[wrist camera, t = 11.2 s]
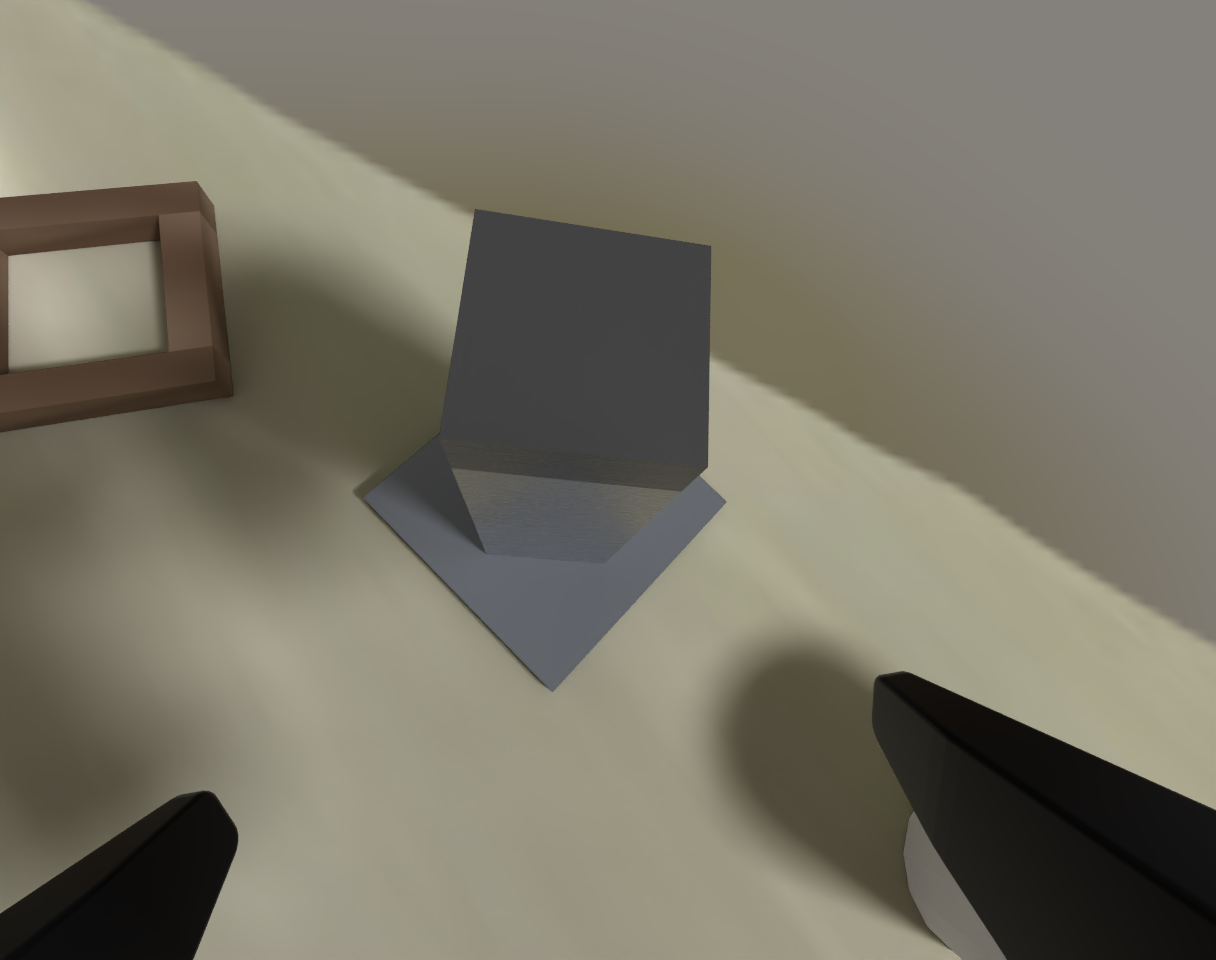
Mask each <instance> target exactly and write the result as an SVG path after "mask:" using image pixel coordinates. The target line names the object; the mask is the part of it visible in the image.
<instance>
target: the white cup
mask: <svg viewBox="0 0 1216 960" xmlns="http://www.w3.org/2000/svg"><path fill="white" fill-rule="evenodd" d="M903 855H904V862H905V868H906V874H907V880H908V886H909V892H910V894H911V896H912V898H913V900H914V902H915V904H916V906H917V908H918V910H919V912H920V914H921V916H922V918H923V920H924V922H925V924H926V925H927V927H928V928H929V929H930V930H931V931H932V932H933V933H934V934H936V935H937V936H938V937H939V938H940V939H941V940H942V941H943V942H944V943H945V944H946V945H947V946H948V947H949V948H950V949H951V950H952V951H953V952H954V953H956V954H957V955H958V956H959V957H960V958H961V959H962V960H1007V959H1006V958H1005V956H1004V955H1003V953H1002V952H1001V950H1000V949H999V947H998V945H997V944H996V942H995V941H994V939H993V938H992V936H991V935H990V933H989V932H988V930H987V929H986V927H985V926H984V924H983V923H982V921H981V920H980V918H979V916H978V915H977V913H976V912H975V910H974V909H973V907H972V906H971V904H970V903H969V901H968V900H967V898H966V897H965V895H964V894H963V892H962V890H961V889H960V887H959V886H958V884H957V883H956V881H955V880H954V878H953V877H952V875H951V874H950V872H949V871H948V869H947V868H946V866H945V864H944V863H943V861H942V860H941V858H940V856H939V855H938V853H937V852H936V850H935V848H934V847H933V845H932V843H931V842H930V840H929V838H928V836H927V834H926V833H925V831H924V829H923V827H922V825H921V823H920V821H919V819H918V817H917V816H916V814H915V812H914V811H913V813H912V814H911V816H910V818H909V822H908V828H907V834H906V840H905V846H904V852H903Z"/></svg>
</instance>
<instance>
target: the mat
mask: <svg viewBox="0 0 1216 960" xmlns="http://www.w3.org/2000/svg"><path fill="white" fill-rule="evenodd" d="M439 435H440V433H439V434H438V435H437V436H436V437H434V438H433V439H432V440H431V441H430V442H428V443H427V444H426V445H425V446H424V447H422V448H421V449H420V450H419V451H418V452H416V453H415V454H414V455H413V456H412V457H410V458H409V459H408V460H407V461H406V462H404V463H403V464H402V465H401V466H400V467H398V468H397V469H396V470H395V471H394V472H392V473H391V474H390V475H389V476H388V477H387V478H385V479H384V480H383V481H382V482H381V483H379V484H378V485H377V486H376V487H375V488H373V489H372V490H371V491H370V492H369V493H367V494H366V495H365V496H364V497H363V498H364V499H365V500H366V502H367V503H368V504H369V505H370V506H371V507H372V508H373V509H374V510H375V511H376V512H377V513H378V514H379V515H380V516H381V517H382V518H383V519H384V520H385V521H386V522H387V523H388V524H389V525H390V526H391V527H392V528H393V529H394V530H395V531H396V532H397V533H398V534H399V535H400V536H401V537H402V538H403V539H404V541H405V542H406V543H407V544H408V545H409V546H410V547H411V548H412V549H413V550H414V551H415V552H416V553H417V554H418V555H419V556H420V557H421V558H422V559H423V560H424V561H425V562H426V563H427V564H428V565H429V566H430V567H431V568H432V569H433V570H434V571H435V572H436V573H437V574H438V575H439V576H440V577H441V578H442V580H443V581H444V582H445V583H446V584H447V585H448V586H449V587H450V588H451V589H452V590H453V591H454V592H455V593H456V594H457V595H458V596H459V597H460V598H461V599H462V600H463V601H464V602H465V603H466V604H467V605H468V606H469V607H470V608H471V609H472V610H473V611H474V612H475V613H476V614H477V615H478V616H479V617H480V618H481V620H482V621H483V622H484V623H485V624H486V625H487V626H488V627H489V628H490V629H491V630H492V631H493V632H494V633H495V634H496V635H497V636H498V637H499V638H500V639H501V640H502V641H503V642H504V643H505V644H506V645H507V646H508V647H509V648H510V649H511V650H512V651H513V652H514V653H515V654H516V655H517V656H518V657H519V659H520V660H521V661H522V662H523V663H524V664H525V665H526V666H527V667H528V668H529V669H530V670H531V671H532V672H533V673H534V674H535V675H536V676H537V677H538V678H539V679H540V680H541V681H542V682H543V683H544V684H545V685H546V686H547V687H548V688H549V689H550V690H551V691H552V692H553V691H554V690H555V689H556V688H557V687H558V686H559V685H560V684H561V682H562V681H563V680H564V679H565V678H566V677H567V676H568V675H569V674H570V673H571V672H572V670H573V669H574V668H575V667H576V666H577V665H578V664H579V663H580V662H581V661H582V660H583V658H584V657H585V656H586V655H587V654H588V653H589V652H590V651H591V650H592V649H593V648H594V646H595V645H596V644H597V643H598V642H599V641H600V640H601V639H602V638H603V637H604V635H605V634H606V633H607V632H608V631H609V630H610V629H611V628H612V627H613V626H614V625H615V623H616V622H617V621H618V620H619V619H620V618H621V617H622V616H623V615H624V614H625V613H626V611H627V610H628V609H629V608H630V607H631V606H632V605H633V604H634V603H635V602H636V600H637V599H638V598H639V597H640V596H641V595H642V594H643V593H644V592H645V591H646V590H647V588H648V587H649V586H650V585H651V584H652V583H653V582H654V581H655V580H656V579H657V578H658V576H659V575H660V574H661V573H662V572H663V571H664V570H665V569H666V568H667V567H668V565H669V564H670V563H671V562H672V561H673V560H674V559H675V558H676V557H677V556H678V555H679V553H680V552H681V551H682V550H683V549H684V548H685V547H686V546H687V545H688V544H689V543H690V541H691V540H692V539H693V538H694V537H695V536H696V535H697V534H698V533H699V532H700V530H701V529H702V528H703V527H704V526H705V525H706V524H707V523H708V522H709V521H710V520H711V518H712V517H713V516H714V515H715V514H716V513H717V512H718V511H719V510H720V509H721V508H722V506H723V505H724V504H725V503H726V501H725V500H724V499H723V498H722V497H721V496H720V495H719V494H718V493H717V492H716V491H715V490H714V489H713V488H712V487H711V486H709V485H708V484H707V483H706V482H705V481H704V480H703V479H702V478H701V477H700V476H698V477H697V478H696V479H695V480H694V481H692V482H691V483H690V484H689V485H688V486H687V487H686V488H685V489H684V490H683V491H682V492H681V493H680V494H679V495H677V496H676V497H675V498H674V499H673V500H672V501H671V502H670V503H669V504H668V505H667V506H666V507H665V508H664V509H663V510H661V511H660V512H659V513H658V514H657V515H656V516H655V517H654V518H653V519H652V520H651V521H650V522H649V523H648V524H646V525H645V526H644V527H643V528H642V529H641V530H640V531H639V532H638V533H637V534H636V535H635V536H634V537H633V538H631V539H630V540H629V541H628V542H627V543H626V544H625V545H624V546H623V547H622V548H621V549H620V550H619V551H618V552H617V553H615V554H614V555H613V556H612V557H611V558H610V559H609V560H608V561H607V562H606V563H605V564H595V563H583V562H572V561H560V560H548V559H536V558H524V557H512V556H500V555H489V554H486V552H485V549H484V547H483V544H482V542H481V540H480V537H479V535H478V532H477V530H476V527H475V525H474V522H473V520H472V518H471V515H470V513H469V510H468V508H467V505H466V503H465V500H464V498H463V496H462V493H461V491H460V488H459V486H458V483H457V481H456V479H455V476H454V474H453V471H452V469H451V466H450V464H449V461H448V459H447V457H446V454H445V452H444V449H443V447H442V444H441V442H440V439H439Z"/></svg>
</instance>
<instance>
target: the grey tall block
mask: <svg viewBox="0 0 1216 960" xmlns="http://www.w3.org/2000/svg"><path fill="white" fill-rule="evenodd" d="M710 285H711V246H708V245H701V244H695V243H689V242H682V241H676V240H669V239H663V238H657V237H650V236H644V235H637V234H631V233H625V232H618V231H612V230H605V229H599V228H593V227H586V226H580V225H573V224H567V223H560V222H555V221H548V220H542V219H535V218H529V217H523V216H516V215H510V214H503V213H497V212H491V211H484V210H477V209H475V213H474V219H473V225H472V232H471V238H470V244H469V251H468V257H467V263H466V270H465V276H464V282H463V289H462V295H461V302H460V308H459V314H458V321H457V327H456V333H455V340H454V346H453V352H452V359H451V365H450V371H449V378H448V384H447V390H446V397H445V403H444V409H443V416H442V422H441V429H440V435H439V439H440V442H441V444H442V447H443V449H444V452H445V454H446V457H447V459H448V461H449V464H450V466H451V469H452V471H453V474H454V476H455V479H456V481H457V483H458V486H459V488H460V491H461V493H462V496H463V498H464V500H465V503H466V505H467V508H468V510H469V513H470V515H471V518H472V520H473V522H474V525H475V527H476V530H477V532H478V535H479V537H480V540H481V542H482V544H483V547H484V549H485V552H486V554H489V555H500V556H512V557H524V558H536V559H548V560H560V561H572V562H583V563H595V564H605V563H606V562H607V561H608V560H609V559H610V558H611V557H612V556H613V555H614V554H615V553H617V552H618V551H619V550H620V549H621V548H622V547H623V546H624V545H625V544H626V543H627V542H628V541H629V540H630V539H631V538H633V537H634V536H635V535H636V534H637V533H638V532H639V531H640V530H641V529H642V528H643V527H644V526H645V525H646V524H648V523H649V522H650V521H651V520H652V519H653V518H654V517H655V516H656V515H657V514H658V513H659V512H660V511H661V510H663V509H664V508H665V507H666V506H667V505H668V504H669V503H670V502H671V501H672V500H673V499H674V498H675V497H676V496H677V495H679V494H680V493H681V492H682V491H683V490H684V489H685V488H686V487H687V486H688V485H689V484H690V483H691V482H692V481H694V480H695V479H696V478H697V477H698V476H699V475H700V474H701V473H702V472H703V471H704V470H705V469H706V468H707V467H708V424H709V358H710V288H711V286H710Z"/></svg>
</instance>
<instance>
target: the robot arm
mask: <svg viewBox="0 0 1216 960" xmlns="http://www.w3.org/2000/svg"><path fill="white" fill-rule="evenodd" d="M872 724H873V729H874V733H875V735H876V738H877V740H878V742H879V744H880V746H881V748H882V750H883V752H884V754H885V756H886V758H887V760H888V762H889V764H890V766H891V767H892V769H893V771H894V773H895V775H896V777H897V779H898V781H899V783H900V785H901V787H902V789H903V791H904V792H905V794H906V796H907V798H908V800H909V802H910V804H911V806H912V808H913V810H914V812H915V814H916V816H917V817H918V819H919V821H920V823H921V825H922V827H923V829H924V831H925V833H926V834H927V836H928V838H929V840H930V842H931V843H932V845H933V847H934V848H935V850H936V852H937V853H938V855H939V856H940V858H941V860H942V861H943V863H944V864H945V866H946V868H947V869H948V871H949V872H950V874H951V875H952V877H953V878H954V880H955V881H956V883H957V884H958V886H959V887H960V889H961V890H962V892H963V894H964V895H965V897H966V898H967V900H968V901H969V903H970V904H971V906H972V907H973V909H974V910H975V912H976V913H977V915H978V916H979V918H980V920H981V921H982V923H983V924H984V926H985V927H986V929H987V930H988V932H989V933H990V935H991V936H992V938H993V939H994V941H995V942H996V944H997V945H998V947H999V949H1000V950H1001V952H1002V953H1003V955H1004V956H1005V958H1006V959H1007V960H1216V810H1214V809H1212V808H1210V807H1208V806H1206V805H1203V804H1201V803H1199V802H1197V801H1194V800H1192V799H1190V798H1188V797H1185V796H1183V795H1181V794H1179V793H1177V792H1174V791H1172V790H1170V789H1168V788H1165V787H1163V786H1161V785H1159V784H1157V783H1154V782H1152V781H1150V780H1148V779H1145V778H1143V777H1141V776H1139V775H1137V774H1134V773H1132V772H1130V771H1128V770H1125V769H1123V768H1121V767H1119V766H1116V765H1114V764H1112V763H1110V762H1108V761H1105V760H1103V759H1101V758H1099V757H1096V756H1094V755H1092V754H1090V753H1088V752H1085V751H1083V750H1081V749H1079V748H1076V747H1074V746H1072V745H1070V744H1068V743H1065V742H1063V741H1061V740H1059V739H1056V738H1054V737H1052V736H1050V735H1048V734H1045V733H1043V732H1041V731H1039V730H1036V729H1034V728H1032V727H1030V726H1027V725H1025V724H1023V723H1021V722H1019V721H1016V720H1014V719H1012V718H1010V717H1007V716H1005V715H1003V714H1001V713H999V712H996V711H994V710H992V709H990V708H987V707H985V706H983V705H981V704H979V703H976V702H974V701H972V700H970V699H967V698H965V697H963V696H961V695H958V694H956V693H954V692H952V691H950V690H947V689H945V688H943V687H941V686H938V685H936V684H934V683H932V682H930V681H927V680H925V679H923V678H921V677H918V676H916V675H914V674H912V673H909V672H905V671H901V672H895V673H889V674H883V675H879V676H878V677H877V678H876V679H875V682H874V691H873V708H872ZM237 845H238V831H237V828H236V826H235V824H234V822H233V821H232V819H231V818H230V816H229V815H228V813H227V812H226V810H225V809H224V807H223V806H222V804H221V803H220V801H219V800H218V798H217V796H216V795H215V794H214V793H212V792H210V791H199V792H194V793H188V794H182V795H179V796H176V797H175V798H173V799H171V800H169V801H168V802H166V803H165V804H163V805H162V806H160V807H159V808H157V809H156V810H154V811H153V812H151V813H150V814H148V815H147V816H145V817H144V818H142V819H141V820H139V821H138V822H136V823H135V824H133V825H132V826H130V827H129V828H127V829H126V830H124V831H123V832H121V833H120V834H118V835H117V836H115V837H114V838H113V839H111V840H110V841H108V842H107V843H105V844H104V845H102V846H101V847H99V848H98V849H96V850H95V851H93V852H92V853H90V854H89V855H87V856H86V857H84V858H83V859H81V860H80V861H78V862H77V863H75V864H74V865H72V866H71V867H69V868H68V869H66V870H65V871H63V872H62V873H60V874H59V875H57V876H56V877H54V878H53V879H51V880H50V881H48V882H47V883H45V884H44V885H42V886H41V887H39V888H38V889H36V890H35V891H33V892H32V893H30V894H29V895H27V896H26V897H24V898H23V899H21V900H20V901H18V902H17V903H15V904H14V905H12V906H11V907H9V908H8V909H6V910H5V911H3V912H2V913H0V960H193V959H194V956H195V954H196V951H197V949H198V946H199V944H200V941H201V939H202V936H203V934H204V931H205V929H206V926H207V924H208V921H209V919H210V916H211V914H212V911H213V909H214V906H215V904H216V901H217V899H218V896H219V894H220V891H221V889H222V886H223V884H224V881H225V878H226V876H227V873H228V871H229V868H230V866H231V863H232V861H233V858H234V856H235V853H236V850H237Z"/></svg>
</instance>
